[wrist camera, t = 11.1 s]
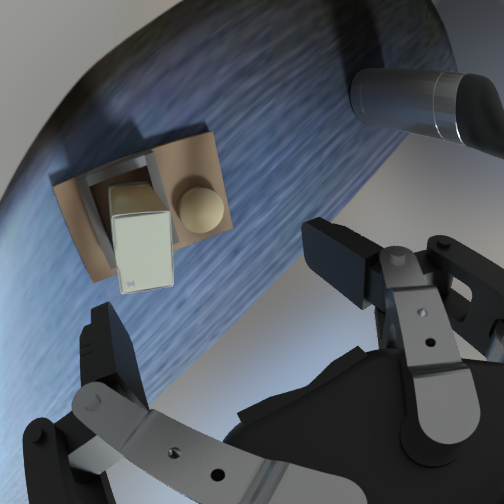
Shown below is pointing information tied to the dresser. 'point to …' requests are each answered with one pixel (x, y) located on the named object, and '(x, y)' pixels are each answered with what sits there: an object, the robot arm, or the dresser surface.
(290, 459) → the robot arm
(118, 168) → the carrier plate
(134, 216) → the skincare box
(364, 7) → the dresser surface
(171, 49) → the dresser surface
